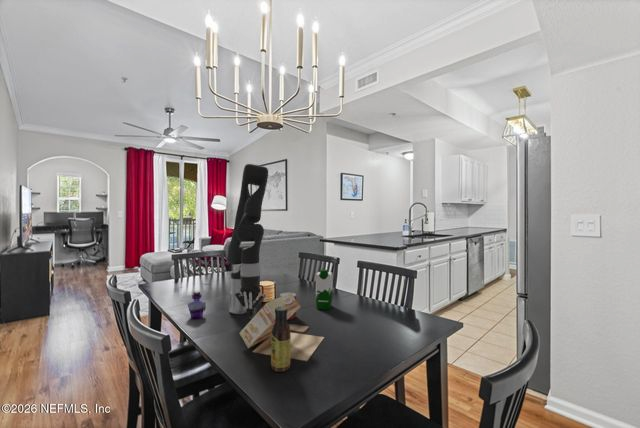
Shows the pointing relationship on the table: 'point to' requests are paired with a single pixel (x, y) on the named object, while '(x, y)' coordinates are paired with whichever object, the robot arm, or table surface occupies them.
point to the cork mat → (295, 346)
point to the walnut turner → (298, 328)
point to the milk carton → (324, 289)
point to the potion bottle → (196, 306)
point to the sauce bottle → (280, 341)
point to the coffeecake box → (267, 319)
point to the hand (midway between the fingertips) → (250, 317)
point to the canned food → (295, 298)
